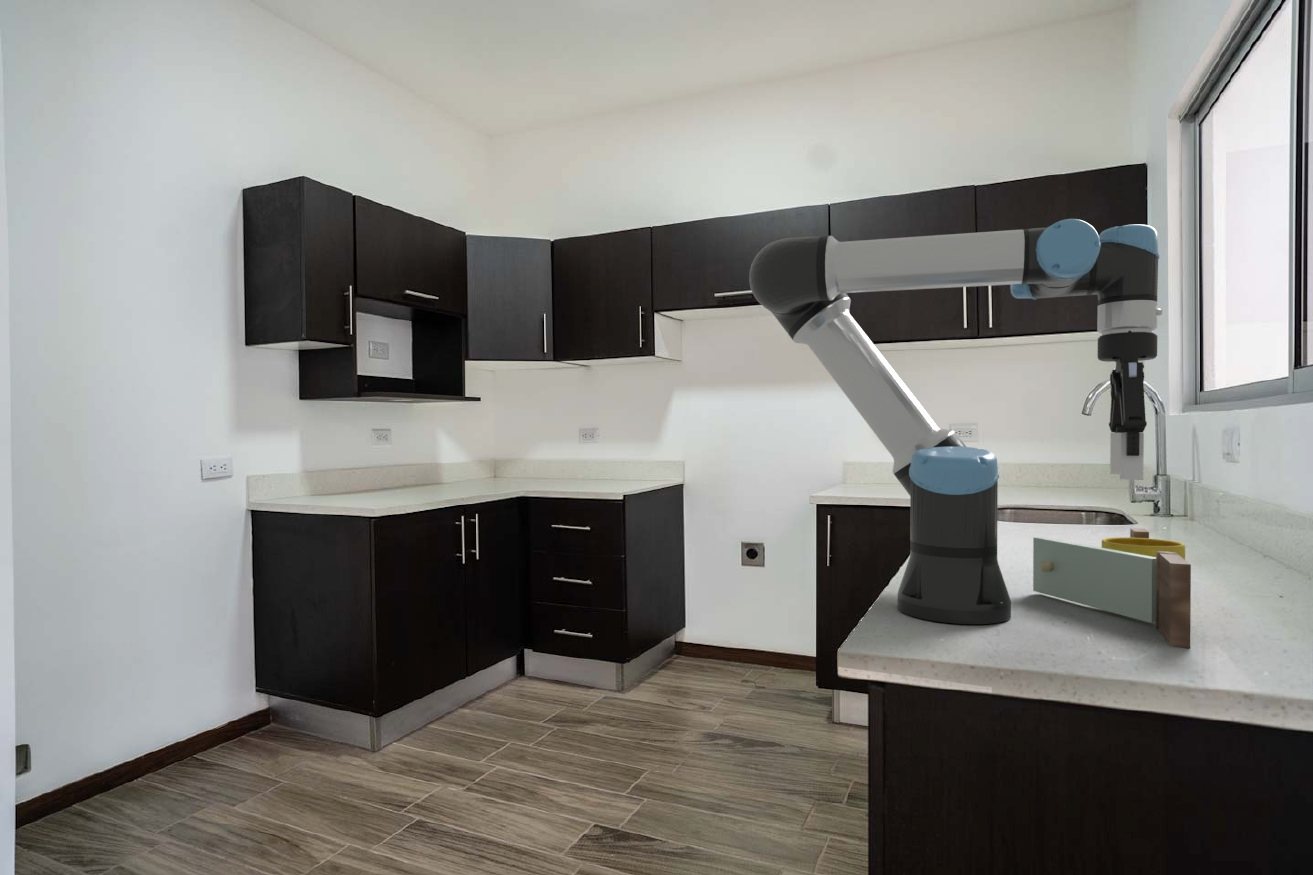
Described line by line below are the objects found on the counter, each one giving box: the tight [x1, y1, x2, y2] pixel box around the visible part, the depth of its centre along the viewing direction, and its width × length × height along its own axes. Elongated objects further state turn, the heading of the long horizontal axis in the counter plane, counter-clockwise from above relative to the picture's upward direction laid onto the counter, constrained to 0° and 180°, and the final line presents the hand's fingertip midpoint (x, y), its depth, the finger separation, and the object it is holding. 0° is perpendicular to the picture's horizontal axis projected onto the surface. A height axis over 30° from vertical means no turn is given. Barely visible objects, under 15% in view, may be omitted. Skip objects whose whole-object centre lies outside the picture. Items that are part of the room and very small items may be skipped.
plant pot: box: [1101, 536, 1186, 560], centre depth 111 cm, size 10×10×10 cm
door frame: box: [1129, 527, 1192, 649], centre depth 107 cm, size 2×36×10 cm, turn 155°
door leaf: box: [1032, 536, 1156, 624], centre depth 110 cm, size 3×21×8 cm, turn 16°
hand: (1125, 477), depth 112 cm, fingers open, 13 cm apart
